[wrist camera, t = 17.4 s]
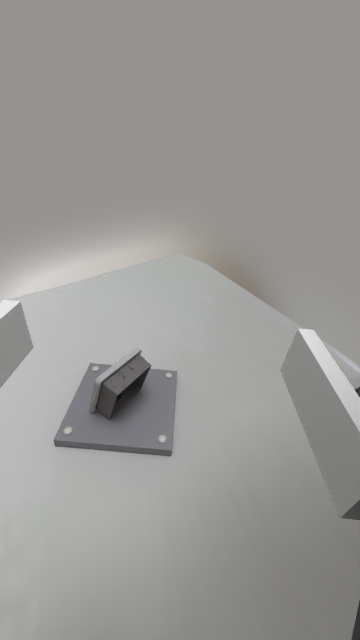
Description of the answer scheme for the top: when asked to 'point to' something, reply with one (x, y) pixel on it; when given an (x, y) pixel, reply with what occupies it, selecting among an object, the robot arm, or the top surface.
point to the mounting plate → (123, 417)
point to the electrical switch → (119, 384)
